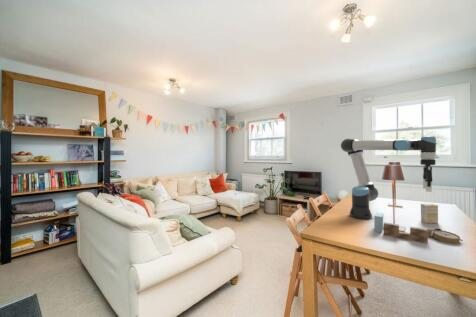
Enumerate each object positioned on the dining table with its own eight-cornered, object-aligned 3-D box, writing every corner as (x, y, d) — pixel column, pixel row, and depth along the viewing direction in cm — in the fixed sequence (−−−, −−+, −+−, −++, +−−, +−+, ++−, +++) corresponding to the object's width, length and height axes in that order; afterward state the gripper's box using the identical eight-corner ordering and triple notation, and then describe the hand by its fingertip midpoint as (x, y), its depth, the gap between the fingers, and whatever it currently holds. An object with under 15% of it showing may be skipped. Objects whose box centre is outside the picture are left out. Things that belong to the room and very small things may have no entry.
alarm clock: (452, 240, 110) (421, 226, 124) (450, 248, 111) (419, 233, 125) (466, 237, 113) (434, 224, 127) (463, 245, 114) (432, 231, 128)
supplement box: (432, 221, 149) (432, 203, 148) (438, 223, 144) (438, 205, 144) (420, 221, 149) (420, 203, 149) (425, 223, 145) (425, 205, 144)
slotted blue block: (382, 232, 129) (381, 217, 129) (374, 231, 131) (374, 215, 131) (383, 228, 137) (383, 213, 136) (376, 226, 139) (376, 212, 139)
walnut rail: (383, 234, 126) (383, 223, 125) (383, 233, 128) (383, 222, 128) (427, 243, 113) (427, 230, 113) (427, 241, 115) (427, 229, 115)
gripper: (439, 159, 127) (438, 193, 127) (432, 158, 147) (431, 187, 147) (422, 159, 131) (422, 192, 132) (418, 158, 151) (417, 186, 152)
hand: (427, 190), depth 140 cm, fingers open, 13 cm apart
